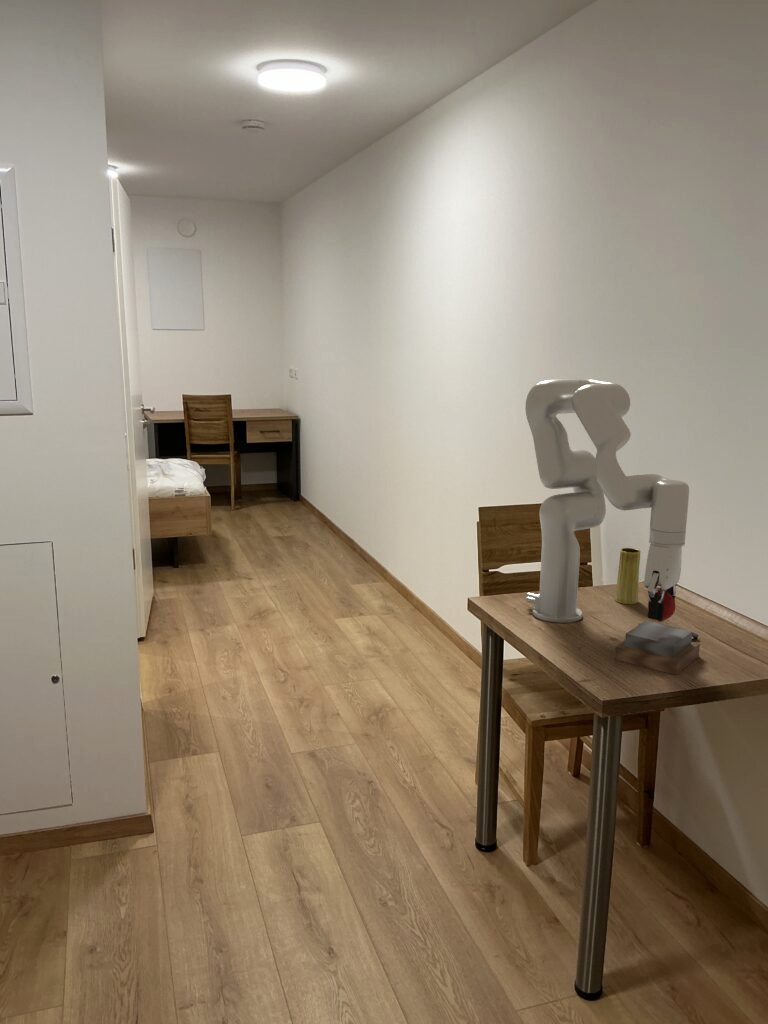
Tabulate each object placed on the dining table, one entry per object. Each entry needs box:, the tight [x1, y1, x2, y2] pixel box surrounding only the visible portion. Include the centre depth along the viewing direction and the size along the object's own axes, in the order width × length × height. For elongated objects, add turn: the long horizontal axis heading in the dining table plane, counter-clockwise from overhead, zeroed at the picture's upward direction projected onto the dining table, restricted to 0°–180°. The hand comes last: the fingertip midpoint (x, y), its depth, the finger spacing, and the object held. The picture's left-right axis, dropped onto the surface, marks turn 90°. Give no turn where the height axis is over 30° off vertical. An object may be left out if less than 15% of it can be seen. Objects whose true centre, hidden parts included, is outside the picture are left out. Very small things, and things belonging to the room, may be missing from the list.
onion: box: [647, 586, 676, 623], centre depth 194 cm, size 6×6×8 cm
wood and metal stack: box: [614, 620, 701, 676], centre depth 196 cm, size 14×14×6 cm
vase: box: [614, 547, 641, 605], centre depth 235 cm, size 6×6×14 cm
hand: (660, 614), depth 195 cm, fingers closed on onion, 5 cm apart
